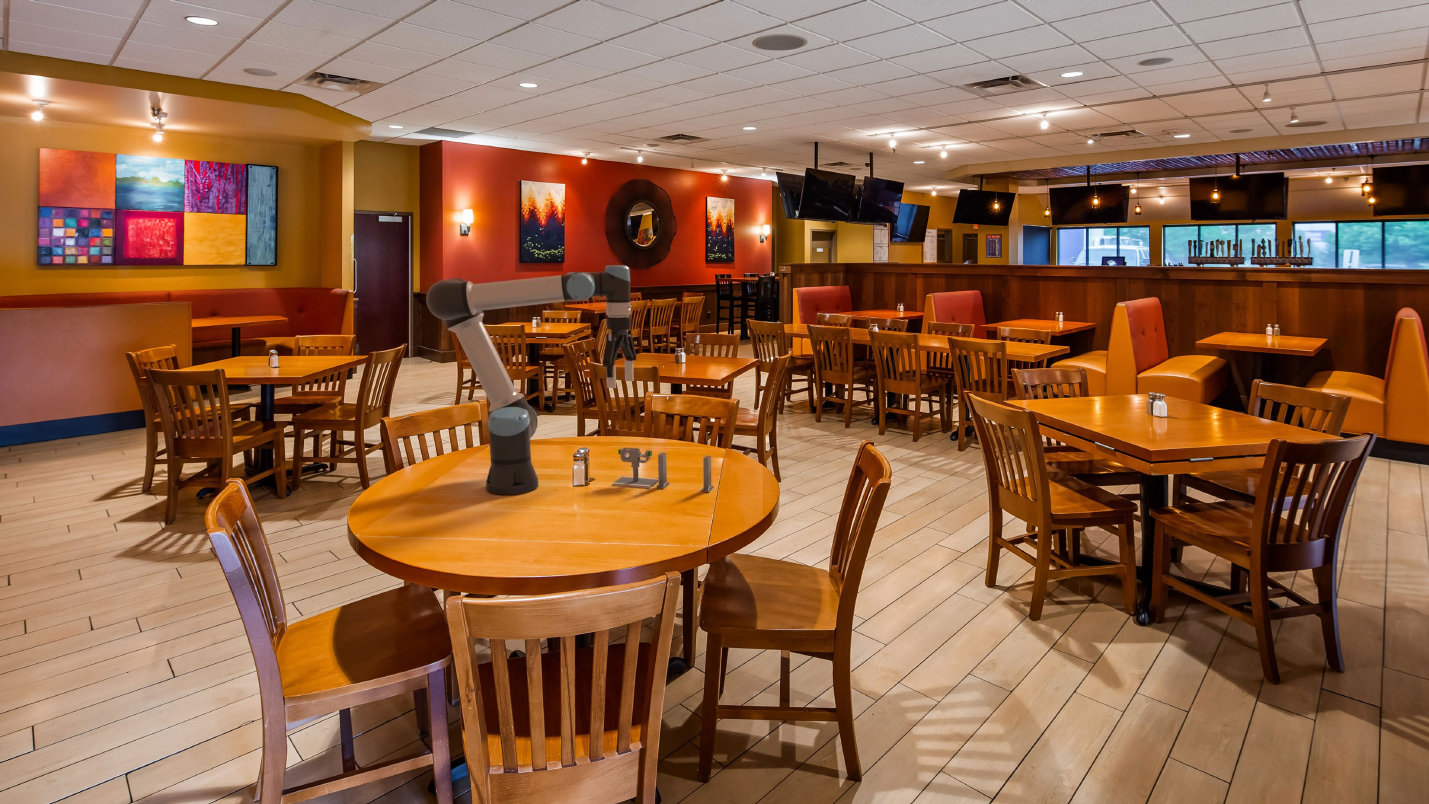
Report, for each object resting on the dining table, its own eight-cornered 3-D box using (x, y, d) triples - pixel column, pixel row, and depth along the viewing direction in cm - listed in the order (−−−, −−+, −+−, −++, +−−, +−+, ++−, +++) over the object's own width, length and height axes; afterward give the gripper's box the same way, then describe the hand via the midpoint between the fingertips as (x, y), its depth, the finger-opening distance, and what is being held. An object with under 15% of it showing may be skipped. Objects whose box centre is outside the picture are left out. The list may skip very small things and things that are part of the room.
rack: (656, 488, 231) (655, 455, 229) (661, 483, 236) (661, 451, 234) (709, 492, 226) (708, 459, 224) (713, 487, 231) (713, 455, 229)
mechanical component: (650, 483, 233) (649, 451, 232) (618, 481, 236) (617, 449, 234) (653, 480, 236) (652, 449, 234) (621, 478, 239) (621, 447, 237)
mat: (612, 485, 234) (612, 483, 234) (622, 478, 242) (622, 476, 242) (649, 488, 231) (649, 486, 231) (659, 480, 238) (659, 478, 238)
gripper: (612, 319, 226) (615, 391, 230) (645, 313, 249) (646, 378, 253) (589, 319, 228) (592, 390, 232) (624, 313, 252) (625, 377, 256)
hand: (620, 384), depth 243 cm, fingers open, 13 cm apart
